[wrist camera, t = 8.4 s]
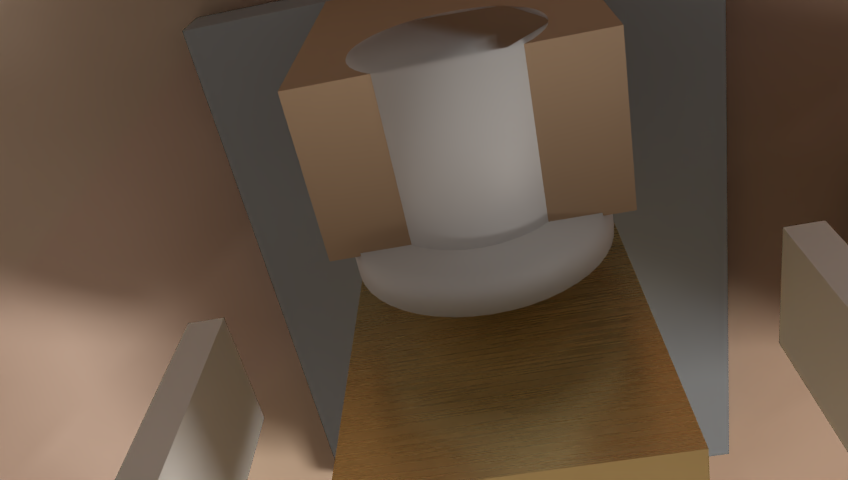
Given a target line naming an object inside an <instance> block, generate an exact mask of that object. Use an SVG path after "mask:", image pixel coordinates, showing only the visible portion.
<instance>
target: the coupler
mask: <svg viewBox="0 0 848 480" xmlns="http://www.w3.org/2000/svg"><path fill="white" fill-rule="evenodd" d="M332 480H710V478H709V448H708V446H707V444H706V441H705V439H704V437H703V434H702V432H701V429H700V427H699V425H698V422H697V420H696V417H695V415H694V413H693V410H692V408H691V405H690V403H689V401H688V398H687V396H686V393H685V391H684V389H683V386H682V384H681V381H680V379H679V377H678V374H677V372H676V369H675V367H674V365H673V362H672V360H671V357H670V355H669V353H668V350H667V348H666V345H665V343H664V341H663V338H662V336H661V333H660V331H659V329H658V326H657V324H656V322H655V319H654V317H653V314H652V312H651V310H650V307H649V305H648V302H647V300H646V298H645V295H644V293H643V290H642V288H641V286H640V283H639V281H638V278H637V276H636V274H635V271H634V269H633V266H632V264H631V262H630V259H629V257H628V254H627V252H626V250H625V247H624V245H623V242H622V240H621V238H620V235H619V233H618V230H617V228H616V226H615V223H614V238H613V242H612V246H611V248H610V250H609V252H608V254H607V255H606V257H605V258H604V259H603V261H602V262H601V263H600V265H599V266H597V267H596V268H595V269H594V270H593V271H592V272H591V273H590V274H589V275H588V276H586V277H585V278H584V279H582V280H581V281H580V282H578V283H577V284H575V285H573V286H572V287H570V288H568V289H567V290H565V291H563V292H561V293H559V294H557V295H555V296H552V297H550V298H548V299H546V300H543V301H540V302H537V303H535V304H532V305H529V306H526V307H522V308H518V309H515V310H511V311H506V312H501V313H496V314H491V315H482V316H473V317H435V316H428V315H421V314H416V313H412V312H408V311H404V310H401V309H398V308H396V307H393V306H391V305H389V304H387V303H385V302H383V301H381V300H380V299H378V298H377V297H376V296H375V295H373V294H372V293H371V292H370V291H369V290H368V288H367V287H366V286H365V284H364V282H363V280H362V285H361V292H360V298H359V305H358V312H357V318H356V325H355V331H354V338H353V345H352V351H351V358H350V364H349V371H348V377H347V384H346V391H345V397H344V404H343V410H342V417H341V423H340V430H339V437H338V443H337V450H336V456H335V463H334V469H333V476H332Z"/></svg>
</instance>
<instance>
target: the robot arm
mask: <svg viewBox="0 0 848 480" xmlns="http://www.w3.org/2000/svg"><path fill="white" fill-rule="evenodd" d="M779 344H780V345H781V347H782V348H783V350H784V351H785V353H786V355H787V356H788V358H789V359H790V361H791V363H792V364H793V366H794V367H795V369H796V371H797V372H798V374H799V375H800V377H801V379H802V380H803V382H804V383H805V385H806V386H807V388H808V390H809V391H810V393H811V394H812V396H813V398H814V399H815V401H816V402H817V404H818V406H819V407H820V409H821V410H822V412H823V413H824V415H825V417H826V418H827V420H828V421H829V423H830V425H831V426H832V428H833V429H834V431H835V433H836V434H837V436H838V437H839V439H840V441H841V442H842V444H843V445H844V447H845V448H846V450H847V452H848V245H847V244H846V242H845V241H844V240H843V239H842V238H841V237H840V236H839V235H838V234H837V233H836V232H835V230H834V229H833V228H832V227H831V226H830V225H829V224H828V223H827V222H826V221H819V222H813V223H806V224H800V225H794V226H788V227H783V241H782V270H781V300H780V329H779ZM263 421H264V416H263V413H262V411H261V408H260V406H259V403H258V401H257V398H256V396H255V393H254V391H253V388H252V386H251V384H250V381H249V379H248V376H247V374H246V371H245V369H244V366H243V364H242V361H241V359H240V356H239V354H238V351H237V349H236V346H235V344H234V341H233V339H232V336H231V334H230V331H229V329H228V326H227V324H226V322H225V319H224V318H218V319H212V320H206V321H200V322H194V323H188V325H187V327H186V329H185V331H184V333H183V336H182V338H181V340H180V342H179V344H178V346H177V348H176V351H175V353H174V355H173V357H172V359H171V361H170V363H169V365H168V368H167V370H166V372H165V374H164V376H163V378H162V380H161V383H160V385H159V387H158V389H157V391H156V393H155V395H154V397H153V400H152V402H151V404H150V406H149V408H148V410H147V412H146V414H145V417H144V419H143V421H142V423H141V425H140V427H139V429H138V432H137V434H136V436H135V438H134V440H133V442H132V444H131V446H130V449H129V451H128V453H127V455H126V457H125V459H124V461H123V464H122V466H121V468H120V470H119V472H118V474H117V476H116V478H115V480H247V479H248V475H249V472H250V468H251V464H252V461H253V457H254V454H255V450H256V446H257V443H258V439H259V435H260V432H261V428H262V424H263Z"/></svg>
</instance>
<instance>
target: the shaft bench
mask: <svg viewBox="0 0 848 480" xmlns="http://www.w3.org/2000/svg"><path fill="white" fill-rule="evenodd" d="M182 32H183V35H184V37H185V40H186V43H187V46H188V49H189V51H190V54H191V57H192V60H193V63H194V65H195V68H196V71H197V74H198V77H199V80H200V82H201V85H202V88H203V91H204V94H205V96H206V99H207V102H208V105H209V108H210V110H211V113H212V116H213V119H214V122H215V124H216V127H217V130H218V133H219V136H220V138H221V141H222V144H223V147H224V150H225V152H226V155H227V158H228V161H229V164H230V166H231V169H232V172H233V175H234V178H235V181H236V183H237V186H238V189H239V192H240V195H241V197H242V200H243V203H244V206H245V209H246V211H247V214H248V217H249V220H250V223H251V225H252V228H253V231H254V234H255V237H256V239H257V242H258V245H259V248H260V251H261V253H262V256H263V259H264V262H265V265H266V268H267V270H268V273H269V276H270V279H271V282H272V284H273V287H274V290H275V293H276V296H277V298H278V301H279V304H280V307H281V310H282V312H283V315H284V318H285V321H286V324H287V326H288V329H289V332H290V335H291V338H292V340H293V343H294V346H295V349H296V352H297V354H298V357H299V360H300V363H301V366H302V369H303V371H304V374H305V377H306V380H307V383H308V385H309V388H310V391H311V394H312V397H313V399H314V402H315V405H316V408H317V411H318V413H319V416H320V419H321V422H322V425H323V427H324V430H325V433H326V436H327V439H328V441H329V444H330V447H331V450H332V453H333V456H334V458H335V456H336V450H337V443H338V437H339V430H340V423H341V417H342V410H343V404H344V397H345V391H346V384H347V377H348V371H349V364H350V358H351V351H352V345H353V338H354V331H355V325H356V318H357V312H358V305H359V298H360V292H361V285H362V280H363V282H364V284H365V286H366V287H367V288H368V290H369V291H370V292H371V293H372V294H373V295H375V296H376V297H377V298H378V299H380V300H381V301H383V302H385V303H387V304H389V305H391V306H393V307H396V308H398V309H401V310H404V311H408V312H412V313H416V314H421V315H428V316H435V317H473V316H482V315H491V314H496V313H501V312H506V311H511V310H515V309H518V308H522V307H526V306H529V305H532V304H535V303H537V302H540V301H543V300H546V299H548V298H550V297H552V296H555V295H557V294H559V293H561V292H563V291H565V290H567V289H568V288H570V287H572V286H573V285H575V284H577V283H578V282H580V281H581V280H582V279H584V278H585V277H586V276H588V275H589V274H590V273H591V272H592V271H593V270H594V269H595V268H596V267H597V266H599V265H600V263H601V262H602V261H603V259H604V258H605V257H606V255H607V254H608V252H609V250H610V248H611V246H612V242H613V238H614V223H615V226H616V228H617V230H618V233H619V235H620V238H621V240H622V242H623V245H624V247H625V250H626V252H627V254H628V257H629V259H630V262H631V264H632V266H633V269H634V271H635V274H636V276H637V278H638V281H639V283H640V286H641V288H642V290H643V293H644V295H645V298H646V300H647V302H648V305H649V307H650V310H651V312H652V314H653V317H654V319H655V322H656V324H657V326H658V329H659V331H660V333H661V336H662V338H663V341H664V343H665V345H666V348H667V350H668V353H669V355H670V357H671V360H672V362H673V365H674V367H675V369H676V372H677V374H678V377H679V379H680V381H681V384H682V386H683V389H684V391H685V393H686V396H687V398H688V401H689V403H690V405H691V408H692V410H693V413H694V415H695V417H696V420H697V422H698V425H699V427H700V429H701V432H702V434H703V437H704V439H705V441H706V444H707V446H708V448H709V456H715V455H723V454H729V395H728V252H727V110H726V0H280V1H276V2H271V3H266V4H261V5H256V6H251V7H247V8H242V9H237V10H232V11H227V12H222V13H218V14H213V15H208V16H203V17H198V18H196V19H195V20H194V21H193V22H192V23H190V24H189V25H188V26H187V27H186V28H185V29H184V30H183V31H182Z"/></svg>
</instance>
